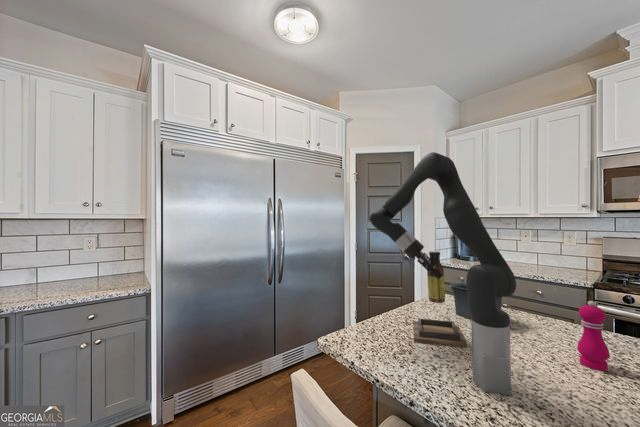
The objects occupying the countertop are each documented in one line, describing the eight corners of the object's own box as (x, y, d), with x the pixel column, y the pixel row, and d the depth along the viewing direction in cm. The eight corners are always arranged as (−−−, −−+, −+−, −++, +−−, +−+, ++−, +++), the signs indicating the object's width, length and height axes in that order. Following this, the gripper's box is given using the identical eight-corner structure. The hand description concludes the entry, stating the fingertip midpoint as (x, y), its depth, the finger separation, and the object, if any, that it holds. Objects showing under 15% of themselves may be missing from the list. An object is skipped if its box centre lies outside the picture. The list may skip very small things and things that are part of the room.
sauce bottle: (442, 299, 114) (441, 250, 114) (447, 303, 107) (447, 252, 108) (425, 298, 114) (425, 250, 115) (430, 303, 108) (429, 252, 108)
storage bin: (447, 313, 135) (446, 284, 135) (467, 308, 142) (466, 280, 143) (491, 328, 116) (490, 294, 116) (512, 321, 124) (511, 289, 124)
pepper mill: (599, 373, 82) (597, 305, 83) (571, 361, 89) (570, 298, 90) (616, 369, 84) (614, 303, 85) (587, 358, 91) (585, 296, 92)
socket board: (467, 348, 99) (467, 338, 99) (414, 341, 105) (413, 332, 105) (458, 328, 116) (458, 320, 116) (413, 324, 122) (413, 316, 122)
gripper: (414, 239, 108) (448, 272, 103) (417, 237, 121) (447, 266, 116) (400, 252, 110) (432, 285, 105) (405, 249, 123) (434, 278, 118)
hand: (440, 275), depth 110 cm, fingers closed on sauce bottle, 6 cm apart
